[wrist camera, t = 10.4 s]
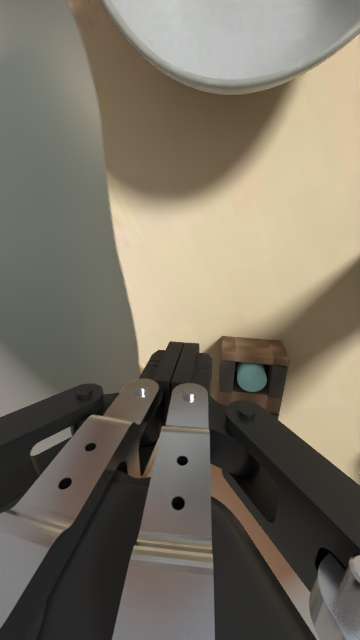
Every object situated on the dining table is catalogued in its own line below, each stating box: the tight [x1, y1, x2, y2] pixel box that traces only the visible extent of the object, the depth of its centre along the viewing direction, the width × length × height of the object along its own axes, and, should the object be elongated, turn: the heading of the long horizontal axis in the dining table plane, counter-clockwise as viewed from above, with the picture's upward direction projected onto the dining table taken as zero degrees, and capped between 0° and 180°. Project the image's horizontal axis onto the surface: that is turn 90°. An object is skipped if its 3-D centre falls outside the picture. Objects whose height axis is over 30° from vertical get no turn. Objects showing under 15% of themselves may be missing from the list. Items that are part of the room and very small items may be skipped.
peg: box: [236, 361, 267, 392], centre depth 38 cm, size 4×4×6 cm
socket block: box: [217, 336, 289, 420], centre depth 40 cm, size 9×15×6 cm, turn 179°
